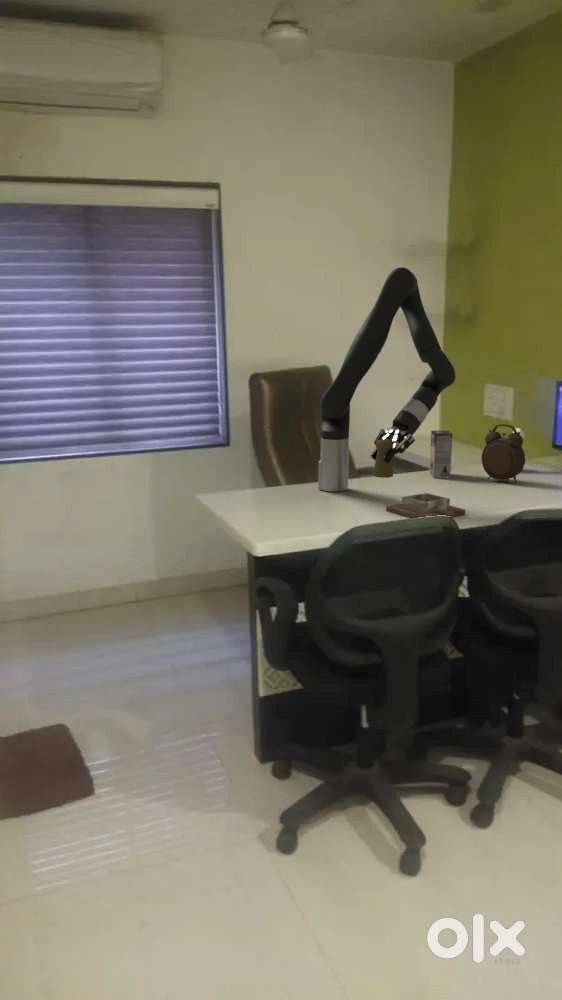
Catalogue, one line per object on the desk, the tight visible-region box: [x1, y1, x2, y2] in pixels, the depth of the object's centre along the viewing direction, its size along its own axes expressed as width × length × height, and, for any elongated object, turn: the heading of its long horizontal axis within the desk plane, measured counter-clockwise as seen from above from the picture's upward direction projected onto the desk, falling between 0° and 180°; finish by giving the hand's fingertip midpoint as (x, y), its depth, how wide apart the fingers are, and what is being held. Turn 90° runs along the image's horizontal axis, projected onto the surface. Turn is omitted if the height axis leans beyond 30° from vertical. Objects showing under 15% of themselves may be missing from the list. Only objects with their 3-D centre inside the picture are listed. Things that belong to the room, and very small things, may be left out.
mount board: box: [385, 492, 466, 519], centre depth 222 cm, size 16×16×4 cm
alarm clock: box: [481, 423, 526, 484], centre depth 265 cm, size 15×7×20 cm, turn 40°
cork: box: [372, 439, 394, 479], centre depth 230 cm, size 6×6×11 cm
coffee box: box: [429, 430, 453, 479], centre depth 275 cm, size 9×6×16 cm
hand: (379, 459), depth 229 cm, fingers closed on cork, 5 cm apart
